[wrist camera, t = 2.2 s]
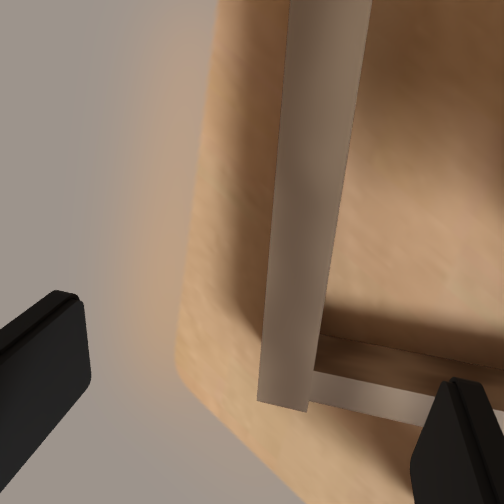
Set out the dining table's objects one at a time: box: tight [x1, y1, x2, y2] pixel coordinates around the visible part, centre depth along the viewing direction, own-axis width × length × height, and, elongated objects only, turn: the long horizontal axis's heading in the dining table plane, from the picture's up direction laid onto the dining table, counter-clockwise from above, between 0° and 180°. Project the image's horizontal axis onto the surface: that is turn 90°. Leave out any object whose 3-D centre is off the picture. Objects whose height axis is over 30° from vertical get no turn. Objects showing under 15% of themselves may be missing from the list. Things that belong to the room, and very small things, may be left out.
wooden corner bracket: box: [257, 0, 504, 435], centre depth 20 cm, size 21×24×5 cm
